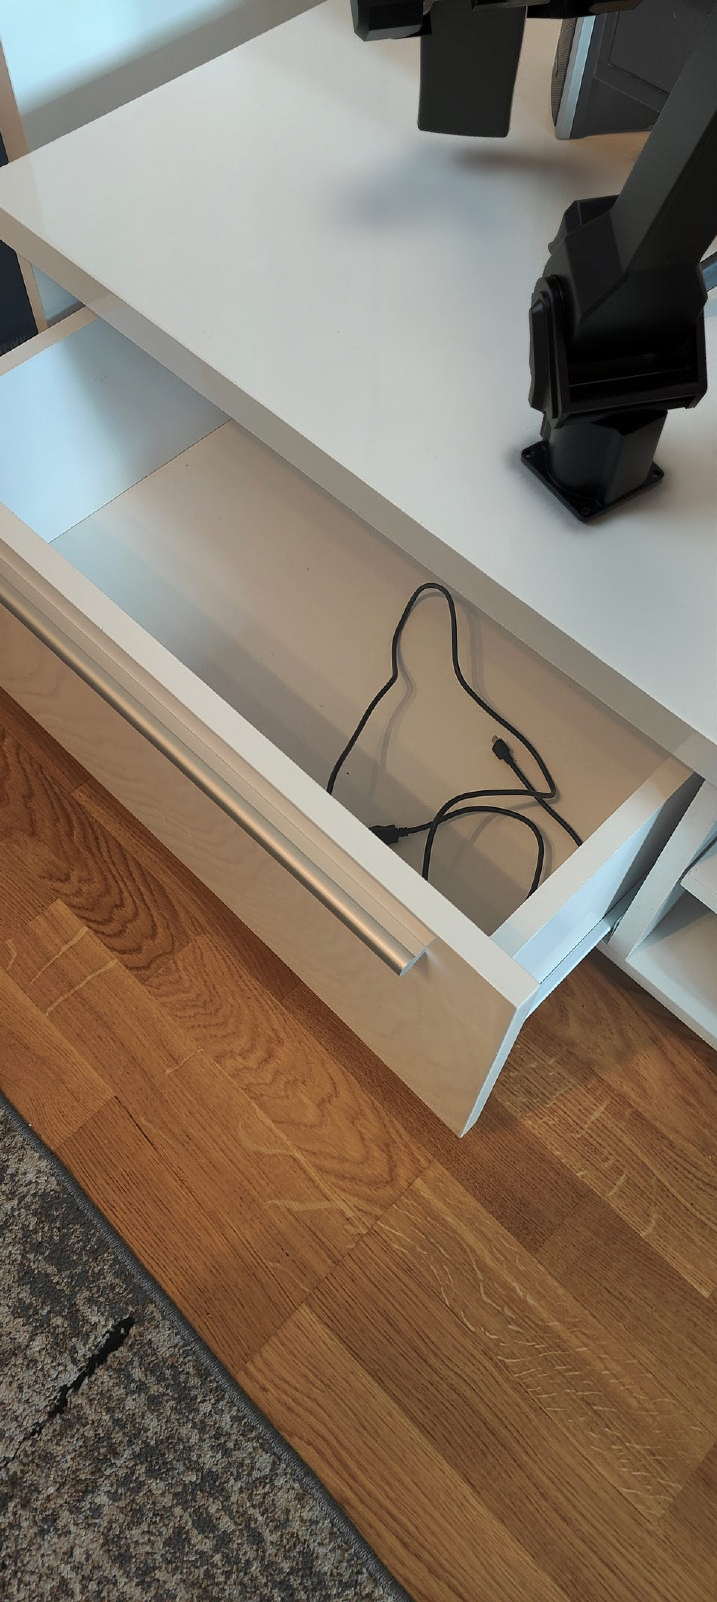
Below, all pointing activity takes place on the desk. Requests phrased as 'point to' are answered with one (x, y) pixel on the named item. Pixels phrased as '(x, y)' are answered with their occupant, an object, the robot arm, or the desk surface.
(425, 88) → the battery charger
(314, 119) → the desk surface
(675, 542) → the desk surface
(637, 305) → the robot arm
